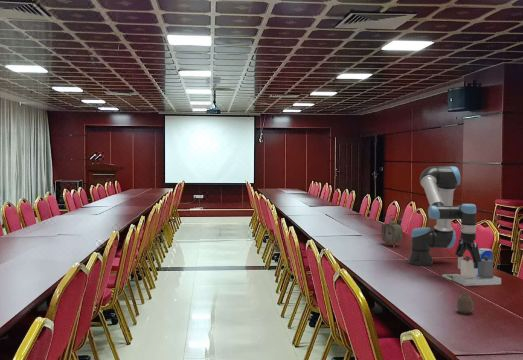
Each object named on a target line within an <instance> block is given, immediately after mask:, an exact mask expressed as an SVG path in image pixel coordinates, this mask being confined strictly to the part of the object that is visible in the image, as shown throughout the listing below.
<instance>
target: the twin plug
mask: <svg viewBox="0 0 523 360" xmlns="http://www.w3.org/2000/svg"><path fill="white" fill-rule="evenodd" d="M479 276H481V277H483V278H490V277H493V276H494V261H492V260H488V256H484V259H481V262H479Z"/></svg>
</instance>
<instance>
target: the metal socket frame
mask: <svg viewBox="0 0 523 360" xmlns="http://www.w3.org/2000/svg"><path fill="white" fill-rule="evenodd" d="M452 278H453V280H452V281H453V282H455V283H458V284H460V285H463V286H464V287H471V286H472V287H473V286H474V287H475V286H494V285H502V277H498V276H497V275H493V277H490V278H483V277H481V276H479V274H474V278H466V279H465V278H463V277H461V273H460V274H458V275H453V276H452Z"/></svg>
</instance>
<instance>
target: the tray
mask: <svg viewBox="0 0 523 360" xmlns="http://www.w3.org/2000/svg"><path fill="white" fill-rule="evenodd" d="M453 275H459V274H458V273H452V274H451V273H449V274H448V273H445V274H441V276H442V278H445V279H447V280H450V281H453Z"/></svg>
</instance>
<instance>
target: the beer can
mask: <svg viewBox="0 0 523 360" xmlns="http://www.w3.org/2000/svg"><path fill="white" fill-rule="evenodd" d="M478 250H479V254H480V258H481V259H484V256H488V260H492V261H493V260H494V253H493V251H492V249H491V248H487V247H486V248H485V247H484V248H481V247H480V248H478ZM493 262H494V261H493ZM478 274H479V262H478Z"/></svg>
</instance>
